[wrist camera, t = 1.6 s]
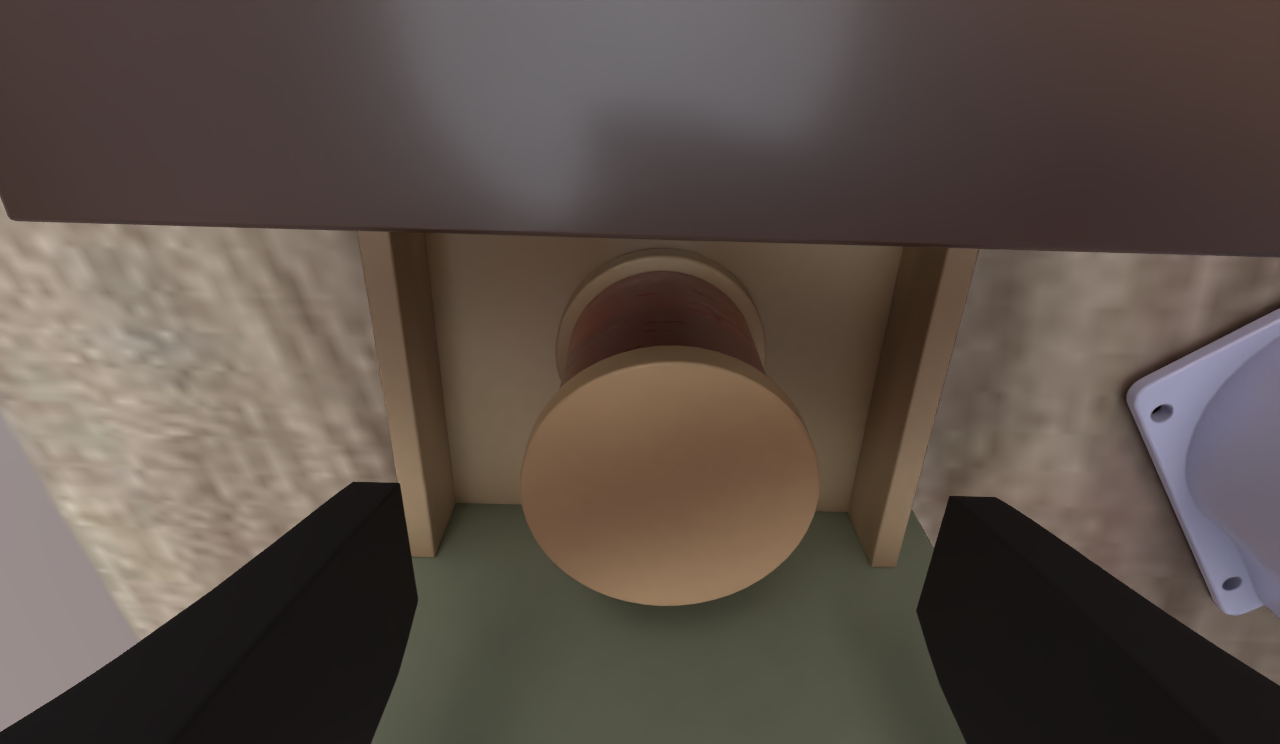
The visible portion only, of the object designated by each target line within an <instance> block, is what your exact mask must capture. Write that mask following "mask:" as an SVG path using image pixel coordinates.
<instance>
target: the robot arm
mask: <svg viewBox="0 0 1280 744" xmlns="http://www.w3.org/2000/svg"><path fill="white" fill-rule="evenodd" d="M1126 398H1127V404H1128V406H1129V408H1130V410H1131V413H1132V415H1133V417H1134V420H1135V422H1136V424H1137V427H1138V429H1139V431H1140V433H1141V436H1142V438H1143V440H1144V443H1145V445H1146V447H1147V449H1148V452H1149V454H1150V456H1151V459H1152V461H1153V463H1154V466H1155V468H1156V470H1157V472H1158V475H1159V477H1160V479H1161V482H1162V484H1163V486H1164V488H1165V491H1166V493H1167V495H1168V498H1169V500H1170V502H1171V505H1172V507H1173V509H1174V511H1175V514H1176V516H1177V518H1178V521H1179V523H1180V525H1181V527H1182V530H1183V532H1184V534H1185V537H1186V539H1187V541H1188V544H1189V546H1190V548H1191V550H1192V553H1193V555H1194V557H1195V560H1196V562H1197V564H1198V566H1199V569H1200V571H1201V573H1202V576H1203V578H1204V580H1205V582H1206V585H1207V587H1208V589H1209V592H1210V594H1211V596H1212V599H1213V601H1214V603H1215V604H1216V605H1217V606H1218V607H1219V608H1220V609H1221V610H1222V611H1223V612H1224V613H1225V614H1228V615H1240V614H1244V613H1247V612H1249V611H1252V610H1254V609H1257V608H1259V607H1262V606H1264V605H1265V606H1266V607H1267V608H1268V609H1270V610H1271V611H1272V612H1273V613H1274V614H1275V615H1276V616H1277V617H1278V618H1279V619H1280V308H1279V309H1277V310H1275V311H1273V312H1271V313H1269V314H1267V315H1265V316H1263V317H1261V318H1259V319H1257V320H1255V321H1253V322H1251V323H1249V324H1247V325H1245V326H1243V327H1241V328H1239V329H1237V330H1235V331H1234V332H1232V333H1230V334H1228V335H1226V336H1224V337H1222V338H1220V339H1218V340H1216V341H1214V342H1212V343H1210V344H1208V345H1206V346H1204V347H1202V348H1200V349H1198V350H1196V351H1194V352H1192V353H1190V354H1188V355H1186V356H1184V357H1182V358H1180V359H1178V360H1176V361H1174V362H1172V363H1170V364H1168V365H1166V366H1165V367H1163V368H1161V369H1159V370H1157V371H1155V372H1153V373H1151V374H1149V375H1147V376H1145V377H1143V378H1141V379H1139V380H1138V381H1137V382H1135V383H1134V384H1133V385H1132V386H1131V387H1130V389H1129V390H1128V393H1127V396H1126ZM1161 405H1162V406H1161ZM1158 406H1161V408H1160V409H1159V410H1158V411H1157V412H1155V413H1153V414H1152V412H1153V410H1154V409H1155V408H1157V407H1158ZM417 604H418V594H417V588H416V582H415V575H414V569H413V563H412V556H411V550H410V544H409V537H408V531H407V525H406V518H405V512H404V505H403V499H402V493H401V486H400V483H377V482H352V483H351V484H350V485H348V486H347V487H345V488H344V489H343V490H341V491H340V492H338V493H337V494H336V495H334V496H333V497H332V498H330V499H329V500H328V501H327V502H325V503H324V504H323V505H321V506H320V507H319V508H318V509H316V510H315V511H314V512H312V513H311V514H310V515H309V516H307V517H306V518H305V519H304V520H302V521H301V522H300V523H298V524H297V525H296V526H295V527H293V528H292V529H291V530H290V531H288V532H287V533H286V534H284V535H283V536H282V537H281V538H279V539H278V540H277V541H276V542H274V543H273V544H272V545H270V546H269V547H268V548H266V549H265V550H264V551H263V552H261V553H260V554H259V555H257V556H256V557H255V558H253V559H252V560H251V561H249V562H248V563H247V564H246V565H244V566H243V567H242V568H240V569H239V570H238V571H236V572H235V573H234V574H233V575H231V576H230V577H229V578H227V579H226V580H225V581H223V582H222V583H221V584H219V585H218V586H217V587H216V588H214V589H213V590H212V591H210V592H209V593H207V594H206V595H205V596H203V597H202V598H200V599H199V600H198V601H196V602H195V603H193V604H192V605H191V606H189V607H188V608H186V609H185V610H183V611H182V612H181V613H179V614H178V615H176V616H175V617H174V618H172V619H171V620H169V621H168V622H167V623H165V624H164V625H162V626H161V627H160V628H158V629H157V630H155V631H154V632H152V633H151V634H150V635H148V636H147V637H145V638H144V639H143V640H141V641H140V642H138V643H137V644H136V645H134V646H133V647H131V648H130V649H129V650H127V651H126V652H124V653H123V654H122V655H120V656H119V657H117V658H116V659H114V660H113V661H112V662H110V663H108V664H107V665H105V666H104V667H102V668H101V669H99V670H98V671H96V672H95V673H93V674H92V675H90V676H89V677H87V678H86V679H84V680H83V681H81V682H79V683H78V684H76V685H75V686H73V687H72V688H70V689H69V690H67V691H66V692H64V693H63V694H61V695H59V696H58V697H56V698H55V699H53V700H52V701H50V702H48V703H47V704H45V705H43V706H42V707H40V708H38V709H37V710H35V711H34V712H33V713H31V714H29V715H27V716H26V717H24V718H22V719H21V720H19V721H18V722H16V723H14V724H13V725H11V726H9V727H8V728H6V729H4V730H3V731H1V732H0V744H371V742H372V740H373V737H374V735H375V732H376V730H377V727H378V725H379V722H380V720H381V717H382V715H383V712H384V710H385V707H386V705H387V702H388V700H389V697H390V695H391V692H392V690H393V687H394V684H395V682H396V679H397V677H398V674H399V670H400V667H401V663H402V660H403V656H404V653H405V649H406V646H407V642H408V638H409V635H410V631H411V627H412V623H413V619H414V615H415V611H416V608H417ZM916 612H917V616H918V619H919V622H920V625H921V629H922V632H923V635H924V639H925V642H926V645H927V649H928V652H929V655H930V658H931V661H932V664H933V666H934V669H935V672H936V675H937V678H938V681H939V684H940V687H941V689H942V691H943V693H944V696H945V698H946V700H947V702H948V705H949V707H950V709H951V711H952V713H953V716H954V718H955V720H956V722H957V724H958V726H959V729H960V731H961V733H962V735H963V737H964V739H965V742H966V744H1280V686H1279V685H1277V684H1276V683H1274V682H1273V681H1271V680H1269V679H1268V678H1266V677H1265V676H1263V675H1261V674H1260V673H1258V672H1257V671H1255V670H1254V669H1252V668H1250V667H1249V666H1247V665H1246V664H1244V663H1243V662H1241V661H1239V660H1238V659H1236V658H1235V657H1233V656H1231V655H1230V654H1228V653H1227V652H1225V651H1224V650H1222V649H1220V648H1219V647H1217V646H1216V645H1214V644H1213V643H1211V642H1210V641H1208V640H1207V639H1205V638H1204V637H1202V636H1201V635H1199V634H1198V633H1196V632H1194V631H1193V630H1191V629H1190V628H1188V627H1187V626H1185V625H1184V624H1182V623H1181V622H1179V621H1178V620H1176V619H1175V618H1173V617H1172V616H1170V615H1169V614H1167V613H1166V612H1164V611H1163V610H1162V609H1160V608H1159V607H1157V606H1156V605H1154V604H1153V603H1151V602H1150V601H1148V600H1147V599H1145V598H1144V597H1142V596H1141V595H1140V594H1138V593H1137V592H1135V591H1134V590H1132V589H1131V588H1129V587H1128V586H1126V585H1125V584H1124V583H1122V582H1121V581H1119V580H1118V579H1116V578H1115V577H1113V576H1112V575H1111V574H1109V573H1108V572H1106V571H1105V570H1103V569H1102V568H1101V567H1099V566H1098V565H1096V564H1095V563H1093V562H1092V561H1090V560H1089V559H1088V558H1086V557H1085V556H1083V555H1082V554H1080V553H1079V552H1078V551H1076V550H1075V549H1073V548H1072V547H1070V546H1069V545H1068V544H1066V543H1065V542H1063V541H1062V540H1060V539H1059V538H1057V537H1056V536H1055V535H1053V534H1052V533H1050V532H1049V531H1047V530H1046V529H1044V528H1043V527H1041V526H1040V525H1039V524H1037V523H1036V522H1034V521H1033V520H1031V519H1030V518H1028V517H1027V516H1025V515H1024V514H1022V513H1021V512H1019V511H1017V510H1016V509H1014V508H1013V507H1011V506H1009V505H1008V504H1006V503H1005V502H1003V501H1001V500H1000V499H998V498H996V497H966V496H949V500H948V503H947V507H946V510H945V513H944V517H943V520H942V524H941V527H940V531H939V534H938V537H937V541H936V544H935V548H934V551H933V554H932V558H931V561H930V565H929V568H928V571H927V575H926V578H925V582H924V585H923V588H922V592H921V595H920V599H919V602H918V605H917V609H916Z"/></svg>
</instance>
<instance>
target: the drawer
mask: <svg viewBox="0 0 1280 744" xmlns="http://www.w3.org/2000/svg"><path fill="white" fill-rule="evenodd" d="M357 233H358V239H359V245H360V252H361V258H362V264H363V270H364V276H365V283H366V289H367V295H368V301H369V307H370V314H371V320H372V326H373V332H374V338H375V345H376V351H377V357H378V363H379V369H380V376H381V382H382V388H383V394H384V400H385V407H386V413H387V419H388V425H389V431H390V438H391V444H392V450H393V456H394V462H395V469H396V475H397V481H398V483H400V486H401V493H402V499H403V505H404V512H405V518H406V525H407V531H408V537H409V544H410V550H411V556H412V563H413V569H414V575H415V582H416V588H417V594H418V604H417V608H416V611H415V615H414V619H413V623H412V627H411V631H410V635H409V638H408V642H407V646H406V649H405V653H404V656H403V660H402V663H401V667H400V670H399V674H398V677H397V679H396V682H395V684H394V687H393V690H392V692H391V695H390V697H389V700H388V702H387V705H386V707H385V710H384V712H383V715H382V717H381V720H380V722H379V725H378V727H377V730H376V732H375V735H374V737H373V740H372V742H371V744H966V742H965V739H964V737H963V735H962V733H961V731H960V729H959V726H958V724H957V722H956V720H955V718H954V716H953V713H952V711H951V709H950V707H949V705H948V702H947V700H946V698H945V696H944V693H943V691H942V689H941V687H940V684H939V681H938V678H937V675H936V672H935V669H934V666H933V664H932V661H931V658H930V655H929V652H928V649H927V645H926V642H925V639H924V635H923V632H922V629H921V625H920V622H919V619H918V616H917V612H916V609H917V605H918V602H919V599H920V595H921V592H922V588H923V585H924V582H925V578H926V575H927V571H928V568H929V565H930V561H931V558H932V554H933V551H934V547H933V546H932V544H931V542H930V540H929V539H928V537H927V535H926V533H925V532H924V530H923V528H922V526H921V525H920V523H919V521H918V519H917V518H916V516H915V514H914V512H913V510H912V509H911V508H912V504H913V500H914V496H915V492H916V488H917V485H918V481H919V477H920V473H921V469H922V466H923V462H924V458H925V454H926V450H927V447H928V443H929V439H930V435H931V431H932V427H933V424H934V420H935V416H936V412H937V408H938V405H939V401H940V397H941V393H942V389H943V386H944V382H945V378H946V374H947V370H948V366H949V363H950V359H951V355H952V351H953V347H954V344H955V340H956V336H957V332H958V328H959V325H960V321H961V317H962V313H963V309H964V305H965V302H966V298H967V294H968V290H969V286H970V283H971V279H972V275H973V271H974V267H975V264H976V260H977V256H978V252H979V249H970V248H935V247H900V246H865V245H830V244H795V243H761V242H726V241H691V240H656V239H621V238H586V237H552V236H517V235H482V234H447V233H412V232H378V231H357ZM662 248H667V249H677V250H683V251H687V252H691V253H695V254H698V255H700V256H703V257H706V258H708V259H710V260H712V261H714V262H715V263H717V264H719V265H721V266H722V267H723V268H725V269H726V270H727V271H729V272H730V273H731V274H732V275H733V276H734V277H735V278H736V279H737V280H738V281H740V283H741V284H742V285H743V286H744V288H745V289H746V290H747V292H748V293H749V295H750V297H751V298H752V300H753V302H754V304H755V306H756V308H757V311H758V313H759V316H760V318H761V321H762V324H763V328H764V332H765V339H766V359H765V365H764V370H765V373H766V376H768V377H769V378H770V379H771V380H772V381H774V382H775V383H776V384H777V385H778V386H779V387H780V388H781V389H782V390H783V391H784V392H785V393H786V394H787V396H788V397H789V398H790V399H791V401H792V402H793V403H794V405H795V406H796V408H797V410H798V411H799V413H800V415H801V417H802V418H803V421H804V423H805V425H806V428H807V430H808V433H809V435H810V437H811V440H812V443H813V445H814V448H815V450H816V454H817V459H818V463H819V470H820V489H819V498H818V503H817V506H816V510H815V513H814V517H813V519H812V521H811V523H810V526H809V528H808V530H807V532H806V534H805V535H804V537H803V538H802V540H801V541H800V543H799V545H798V546H797V547H796V548H795V549H794V551H793V552H792V553H791V554H790V555H789V557H788V558H787V559H786V560H785V561H784V562H782V563H781V564H780V565H779V566H778V567H777V568H776V569H775V570H773V571H772V572H771V573H769V574H768V575H767V576H765V577H764V578H762V579H761V580H759V581H757V582H756V583H754V584H752V585H750V586H749V587H747V588H745V589H742V590H740V591H738V592H735V593H733V594H731V595H728V596H725V597H722V598H718V599H715V600H711V601H707V602H702V603H697V604H689V605H681V606H655V605H643V604H638V603H632V602H626V601H623V600H619V599H616V598H612V597H609V596H607V595H604V594H602V593H599V592H597V591H594V590H592V589H590V588H588V587H587V586H585V585H583V584H581V583H579V582H578V581H576V580H575V579H573V578H572V577H570V576H569V575H567V574H566V573H565V572H563V571H562V570H561V569H560V568H559V567H558V566H557V565H556V564H554V563H553V562H552V561H551V559H550V558H549V557H548V556H547V555H546V554H545V553H544V551H543V550H542V549H541V547H540V546H539V544H538V543H537V541H536V540H535V538H534V537H533V535H532V532H531V530H530V528H529V526H528V524H527V522H526V519H525V515H524V512H523V508H522V504H521V496H520V472H521V467H522V462H523V457H524V454H525V450H526V446H527V443H528V439H529V436H530V434H531V431H532V428H533V425H534V423H535V421H536V420H537V418H538V416H539V414H540V412H541V411H542V409H543V408H544V406H545V405H546V404H547V402H548V401H549V400H550V398H551V397H552V396H553V395H554V394H555V393H556V392H557V391H558V390H559V388H560V384H561V380H560V378H559V374H558V370H557V366H556V355H555V350H556V338H557V333H558V328H559V324H560V321H561V318H562V315H563V312H564V309H565V307H566V305H567V303H568V301H569V299H570V298H571V296H572V295H573V293H574V292H575V290H576V289H577V288H578V286H579V285H580V284H581V283H582V282H583V281H584V280H585V279H586V278H587V277H588V276H589V275H590V274H591V273H593V272H594V271H595V270H596V269H598V268H599V267H601V266H602V265H604V264H606V263H607V262H609V261H611V260H613V259H615V258H618V257H620V256H622V255H625V254H628V253H632V252H635V251H640V250H647V249H662Z"/></svg>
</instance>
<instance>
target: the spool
mask: <svg viewBox="0 0 1280 744" xmlns="http://www.w3.org/2000/svg"><path fill="white" fill-rule="evenodd" d="M555 355H556V366H557V370H558V374H559V378H560V380H561V384H560V388H559V390H558V391H557V392H556V393H555V394H554V395H553V396H552V397H551V398H550V400H549V401H548V402H547V404H546V405H545V406H544V408H543V409H542V411H541V412H540V414H539V416H538V418H537V420H536V421H535V423H534V425H533V428H532V431H531V434H530V436H529V439H528V443H527V446H526V450H525V454H524V457H523V462H522V467H521V472H520V496H521V504H522V508H523V512H524V515H525V519H526V522H527V524H528V526H529V528H530V530H531V532H532V535H533V537H534V538H535V540H536V541H537V543H538V544H539V546H540V547H541V549H542V550H543V551H544V553H545V554H546V555H547V556H548V557H549V558H550V559H551V561H552V562H553V563H554V564H556V565H557V566H558V567H559V568H560V569H561V570H562V571H563V572H565V573H566V574H567V575H569V576H570V577H572V578H573V579H575V580H576V581H578V582H579V583H581V584H583V585H585V586H587V587H588V588H590V589H592V590H594V591H597V592H599V593H602V594H604V595H607V596H609V597H612V598H616V599H619V600H623V601H626V602H632V603H638V604H643V605H655V606H681V605H689V604H697V603H702V602H707V601H711V600H715V599H718V598H722V597H725V596H728V595H731V594H733V593H735V592H738V591H740V590H742V589H745V588H747V587H749V586H750V585H752V584H754V583H756V582H757V581H759V580H761V579H762V578H764V577H765V576H767V575H768V574H769V573H771V572H772V571H773V570H775V569H776V568H777V567H778V566H779V565H780V564H781V563H782V562H784V561H785V560H786V559H787V558H788V557H789V555H790V554H791V553H792V552H793V551H794V549H795V548H796V547H797V546H798V545H799V543H800V541H801V540H802V538H803V537H804V535H805V534H806V532H807V530H808V528H809V526H810V523H811V521H812V519H813V517H814V513H815V510H816V506H817V503H818V498H819V489H820V470H819V463H818V459H817V454H816V450H815V448H814V445H813V443H812V440H811V437H810V435H809V433H808V430H807V428H806V425H805V423H804V421H803V418H802V417H801V415H800V413H799V411H798V410H797V408H796V406H795V405H794V403H793V402H792V401H791V399H790V398H789V397H788V396H787V394H786V393H785V392H784V391H783V390H782V389H781V388H780V387H779V386H778V385H777V384H776V383H775V382H774V381H772V380H771V379H770V378H769V377H768V376H766V373H765V370H764V365H765V359H766V339H765V332H764V328H763V324H762V321H761V318H760V316H759V313H758V311H757V308H756V306H755V304H754V302H753V300H752V298H751V297H750V295H749V293H748V292H747V290H746V289H745V288H744V286H743V285H742V284H741V283H740V281H738V280H737V279H736V278H735V277H734V276H733V275H732V274H731V273H730V272H729V271H727V270H726V269H725V268H723V267H722V266H721V265H719V264H717V263H715V262H714V261H712V260H710V259H708V258H706V257H703V256H700V255H698V254H695V253H691V252H687V251H683V250H677V249H667V248H662V249H647V250H640V251H635V252H632V253H628V254H625V255H622V256H620V257H618V258H615V259H613V260H611V261H609V262H607V263H606V264H604V265H602V266H601V267H599V268H598V269H596V270H595V271H594V272H593V273H591V274H590V275H589V276H588V277H587V278H586V279H585V280H584V281H583V282H582V283H581V284H580V285H579V286H578V288H577V289H576V290H575V292H574V293H573V295H572V296H571V298H570V299H569V301H568V303H567V305H566V307H565V309H564V312H563V315H562V318H561V321H560V324H559V328H558V333H557V338H556V350H555Z"/></svg>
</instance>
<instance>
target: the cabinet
mask: <svg viewBox="0 0 1280 744" xmlns="http://www.w3.org/2000/svg"><path fill="white" fill-rule="evenodd" d="M0 197H1V200H2V202H3V205H4V207H5V210H6V212H7V215H8V216H9V218H10V219H11V220H15V221H29V222H64V223H99V224H134V225H169V226H203V227H238V228H273V229H308V230H343V231H378V232H412V233H447V234H482V235H517V236H552V237H586V238H621V239H656V240H691V241H726V242H761V243H795V244H830V245H865V246H900V247H935V248H970V249H1004V250H1039V251H1074V252H1109V253H1144V254H1178V255H1213V256H1248V257H1280V0H0Z"/></svg>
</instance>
